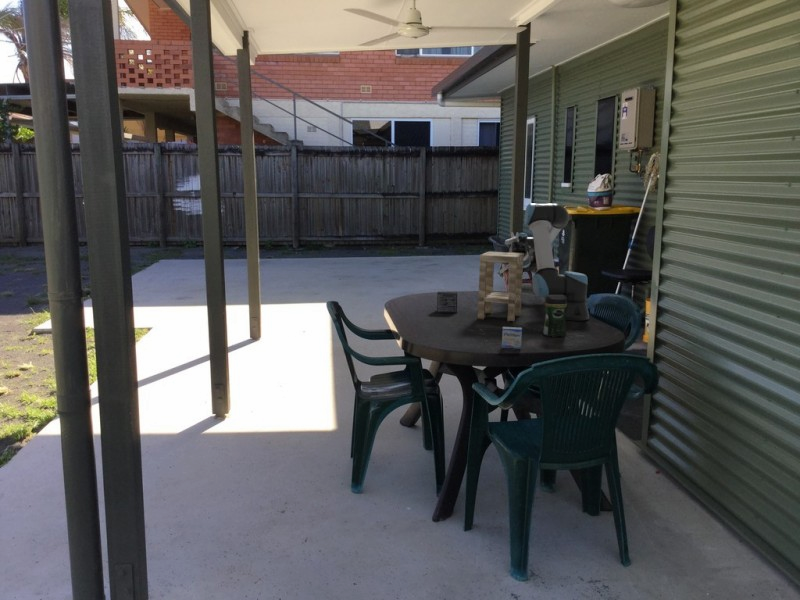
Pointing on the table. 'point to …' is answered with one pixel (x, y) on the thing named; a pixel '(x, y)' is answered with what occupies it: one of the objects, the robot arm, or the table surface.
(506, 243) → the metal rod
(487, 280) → the shelf stand
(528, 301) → the table surface
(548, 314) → the coffee jar
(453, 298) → the small box
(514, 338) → the medicine box
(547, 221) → the robot arm
